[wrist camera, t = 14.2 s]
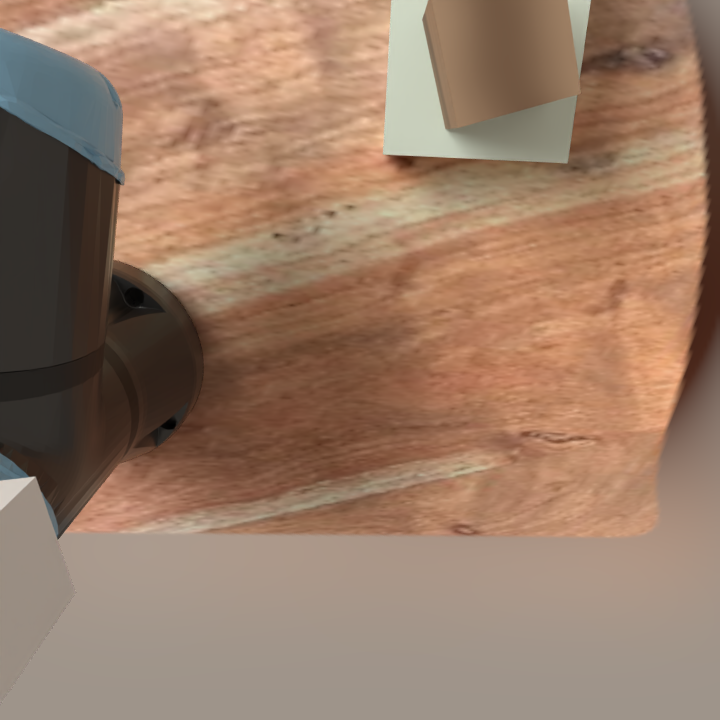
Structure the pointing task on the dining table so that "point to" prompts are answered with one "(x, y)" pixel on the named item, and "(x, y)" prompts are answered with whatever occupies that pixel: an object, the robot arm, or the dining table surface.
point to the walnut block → (499, 56)
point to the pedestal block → (479, 140)
